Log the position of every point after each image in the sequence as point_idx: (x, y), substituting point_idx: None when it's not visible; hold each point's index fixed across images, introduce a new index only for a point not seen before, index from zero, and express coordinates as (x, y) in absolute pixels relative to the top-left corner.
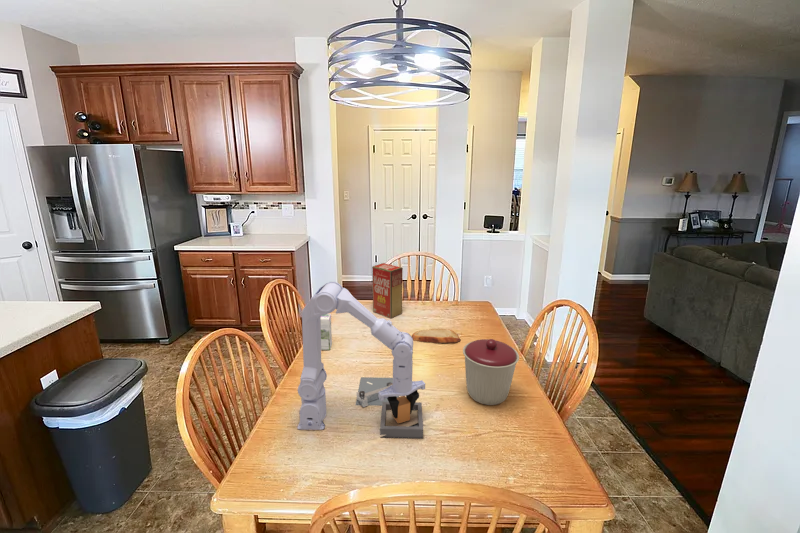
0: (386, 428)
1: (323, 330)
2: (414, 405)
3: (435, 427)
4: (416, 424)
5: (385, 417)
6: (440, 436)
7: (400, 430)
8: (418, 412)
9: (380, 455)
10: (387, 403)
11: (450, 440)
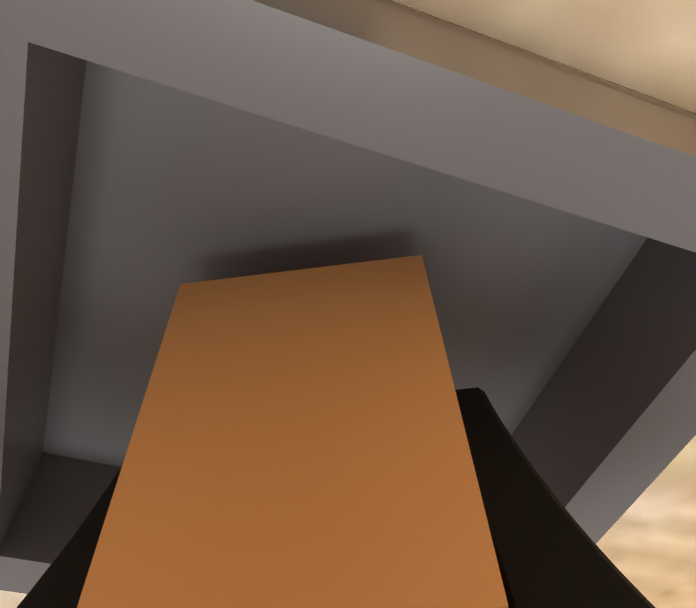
0: (27, 589)
1: None
2: (688, 245)
3: (689, 454)
4: (499, 415)
5: (51, 258)
6: (643, 548)
7: None
8: (621, 442)
9: (6, 603)
10: (70, 17)
11: (689, 591)
